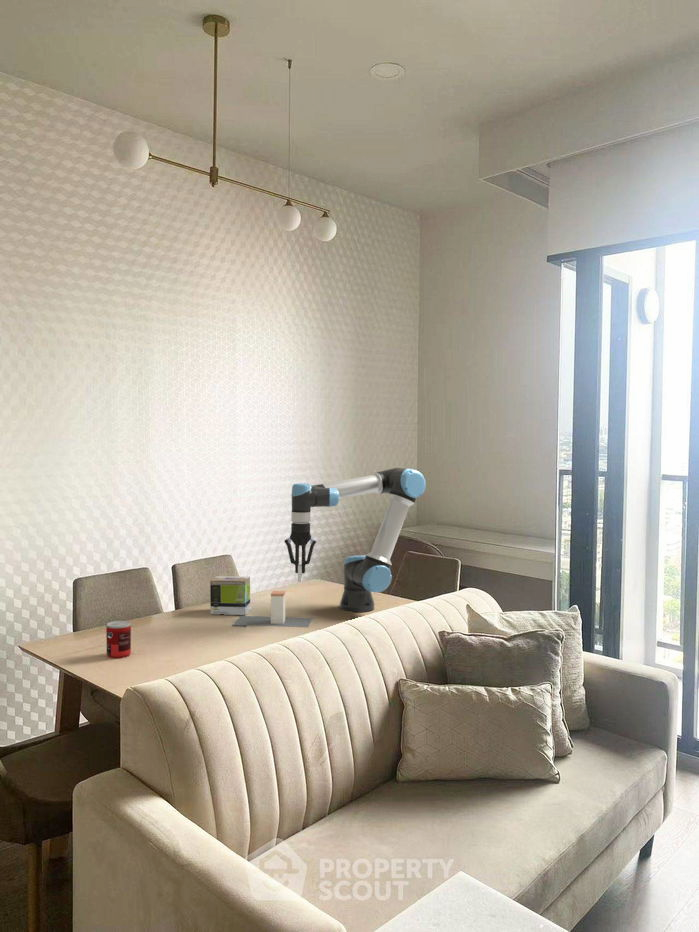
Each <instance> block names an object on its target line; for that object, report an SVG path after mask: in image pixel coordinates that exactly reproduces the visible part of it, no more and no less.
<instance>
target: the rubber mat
mask: <svg viewBox="0 0 699 932" xmlns="http://www.w3.org/2000/svg"><path fill="white" fill-rule="evenodd" d="M313 619H314V618H313V617H301V616H300V617H297V616H294V617H292V616H285V622H284V623H283V624H271V616H261V615H239V616H238V618H237V620H235V621H234V623H233V624H232V627H246V626H247V627H249V626H253V627H255V626H256V627H283V628H285V627H290V628H292V627H293V628H309V626H310V625H311V623H312V621H313Z"/></svg>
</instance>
